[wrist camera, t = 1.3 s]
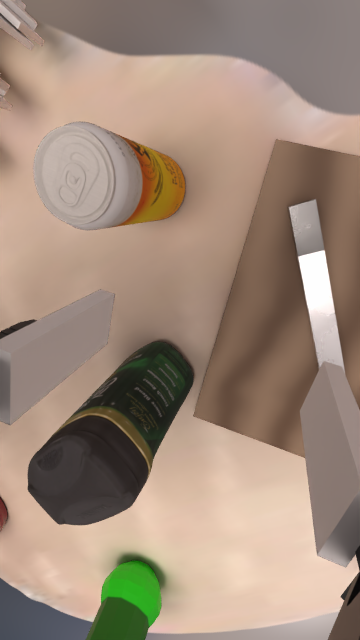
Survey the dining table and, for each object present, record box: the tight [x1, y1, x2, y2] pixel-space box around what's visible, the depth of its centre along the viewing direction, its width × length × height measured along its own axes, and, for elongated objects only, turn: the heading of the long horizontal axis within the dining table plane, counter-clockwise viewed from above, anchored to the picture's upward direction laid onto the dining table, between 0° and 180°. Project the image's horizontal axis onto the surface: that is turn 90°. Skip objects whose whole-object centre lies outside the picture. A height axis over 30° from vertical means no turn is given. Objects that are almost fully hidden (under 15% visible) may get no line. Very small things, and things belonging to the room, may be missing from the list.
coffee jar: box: [28, 342, 194, 525], centre depth 31 cm, size 10×8×19 cm
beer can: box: [34, 122, 185, 230], centre depth 25 cm, size 6×6×15 cm
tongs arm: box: [288, 199, 345, 373], centre depth 29 cm, size 24×2×3 cm, turn 17°
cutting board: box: [193, 139, 360, 458], centre depth 31 cm, size 22×30×2 cm
